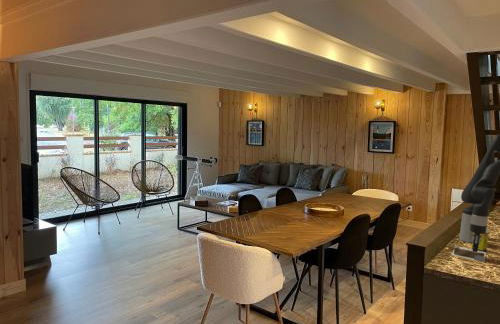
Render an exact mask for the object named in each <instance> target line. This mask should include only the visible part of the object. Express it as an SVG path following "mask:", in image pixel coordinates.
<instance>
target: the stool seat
mask: <svg viewBox="0 0 500 324" xmlns="http://www.w3.org/2000/svg"><path fill="white" fill-rule="evenodd" d="M455 247H459V248H460V249H465V250H470V251H473V249H472V248H465V247H460V246H457V245H455ZM455 247H454V248H455ZM477 252H480V253H484V260H483V262H482V261H479V262H481V263H485V260H486V255H487V253H486V252H485V251H477ZM451 256H453V257H458V258H463V259H467V260H472V261H477V260H474V258H471V257H466V256H461V255H456V254H454V249H453V251H452V252H451ZM477 262H478V261H477Z"/></svg>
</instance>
